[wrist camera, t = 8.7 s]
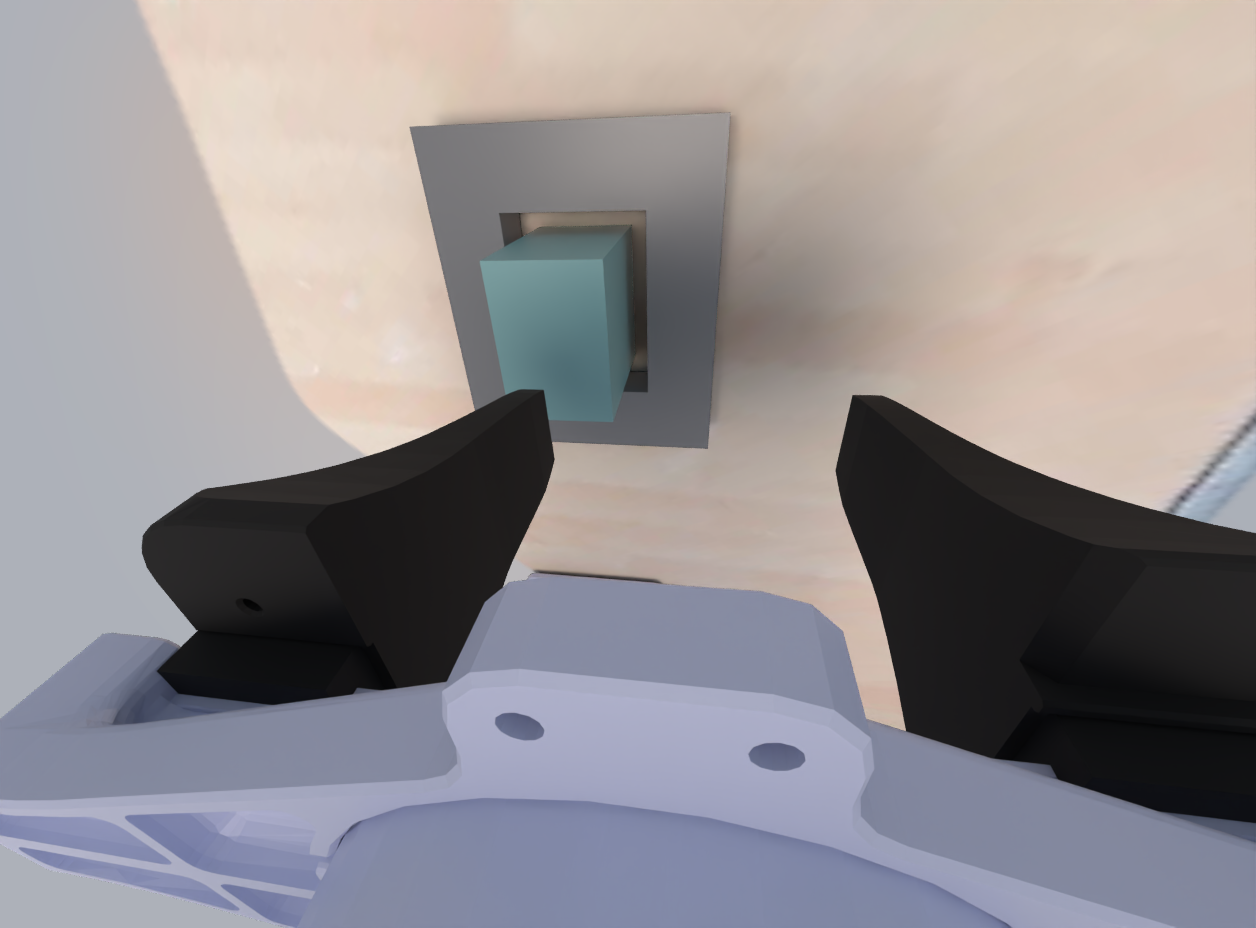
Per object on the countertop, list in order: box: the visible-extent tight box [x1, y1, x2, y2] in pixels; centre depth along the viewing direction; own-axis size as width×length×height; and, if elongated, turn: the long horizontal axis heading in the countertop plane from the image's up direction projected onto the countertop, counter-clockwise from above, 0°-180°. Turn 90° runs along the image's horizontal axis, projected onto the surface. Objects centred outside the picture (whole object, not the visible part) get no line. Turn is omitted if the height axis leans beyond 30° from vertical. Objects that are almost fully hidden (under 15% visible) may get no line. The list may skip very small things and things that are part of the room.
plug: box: [480, 225, 635, 422], centre depth 17 cm, size 5×4×6 cm
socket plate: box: [410, 112, 730, 449], centre depth 19 cm, size 12×10×2 cm
